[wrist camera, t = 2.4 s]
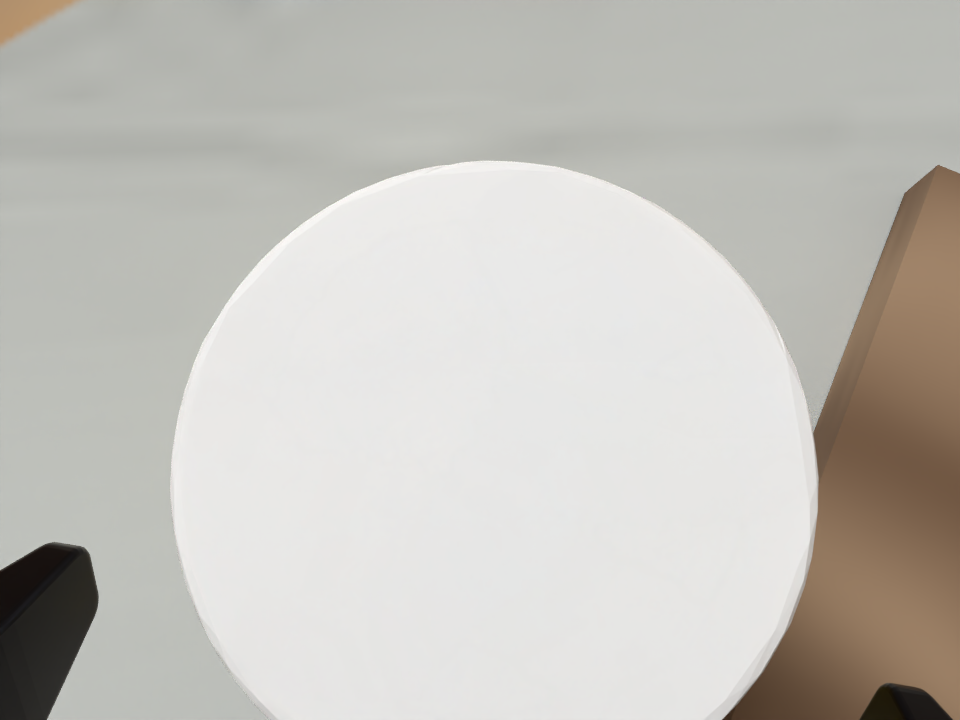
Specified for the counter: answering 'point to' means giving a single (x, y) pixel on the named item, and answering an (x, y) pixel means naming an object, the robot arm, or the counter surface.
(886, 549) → the walnut board
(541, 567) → the supplement bottle
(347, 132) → the counter surface
